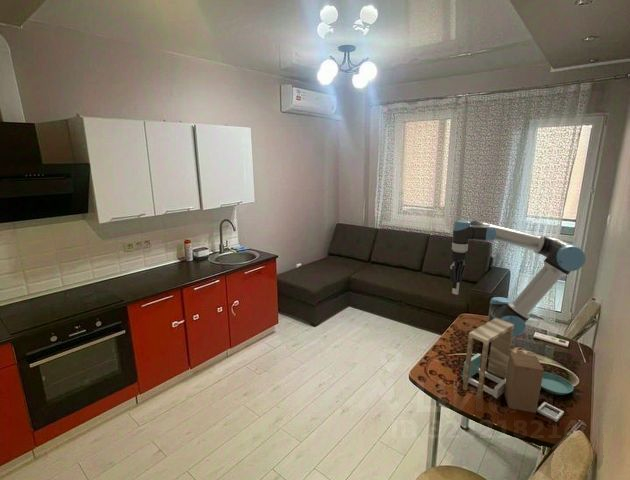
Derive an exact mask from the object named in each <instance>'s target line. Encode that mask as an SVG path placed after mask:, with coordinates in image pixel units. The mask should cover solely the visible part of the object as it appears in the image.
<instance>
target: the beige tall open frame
mask: <svg viewBox="0 0 630 480" xmlns="http://www.w3.org/2000/svg"><path fill="white" fill-rule="evenodd" d="M513 329H514V324H512V323H509V322H507V321H504V320H501V319H498V318H495V319H493V320H491V321H489V322H488V321H487V322H485V323H484V324H482V325H479V327H477V328H475V329H473V330H471V331H470V332H468V338H467V339H468V340H467V349H466V355H465V361H466V363H465V372H464V380H462V381H463V382H462V383H463V384H462V390H464V391H467V390H468V389H469V373H470V365H471V357H473V356H472V354H473V348H474V347H473V346H474V339H475V340H477V341H479V342H482V344H483V345H482V353H481V360H480V374H479V376H478V382H479V383H478V387H477V391H476V392H477V393H476V398H478V399H480V400H481V399H483V392H484V391H483V386H484V385H485V378H486V377H485V371H486V370H487V372H488V371H489V372H488V373H490V372H491V373H490V374H492V375H494V376H496V377H498V378H501V377H502V378H501V379H503V378H504V379H505V378H506V375H507V368H508V361H509V354H510V353H511V350H512V349H511V348H512V342H513V341H512V336H513ZM513 337H514V336H513ZM489 346H490V350H489ZM489 351H490V352H489ZM488 352H489V353H488ZM488 355H489V357H488ZM487 361H488V365H487ZM504 379H503V380H504Z"/></svg>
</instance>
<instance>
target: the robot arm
mask: <svg viewBox="0 0 630 480" xmlns="http://www.w3.org/2000/svg"><path fill="white" fill-rule="evenodd" d="M452 231H453V233H452V242H451V251H450V252H451V253H450V258H451V259H452V260H451V261H452V262H451V264H450V265H448V268H449V278H450V279H449V280H450V282H451V283H452V291H451V293H452V294H454V295H457V296H458V295H459V290H460V283H462V281H463V279H464V274H465V270H466V267H467V264H468V262H467V261H466V260H467V259H468V249H469V241H483V242H484V241H485V242H492V241H493V242H494V241H497V242H501V243H505V244H508V245H512V246H516V247H518V248H519V247H520V248H523V249H527V250H530V251H533V253H535V254H538V255H541V256H543V257H545V259H544V260H543V267H542V268H541V269H540V270H539V271H538V272H537V273H536V275H535V276H534V277H533V278H532V279H531V280H530V281H529V283H528V284H527V285H526V286H525V288H523V290H522V291H521V292H520V293H519V295H518V296H517V297H516V298H515V299H514V300H512V299H511V298H507V297H503V296H502V297H500V296H497V297H496V296H495V297H492V298H491V299H490V301H489V309H488V319H487V322H489V321H491V320H493V319H495V318H498V319H501V320H504V321H507V322H509V323H512V324H514V329H513V336H512V342H513V341H514V337H516V336H520V335H522V334H523V333H524V332H525V330H526V325H527V324H526V322H528V321H529V319H530V313H531V312H532V311H533V309H534V308H536V307H537V305H538V304H539V303H540V301H541V300H542V299H544V297H545V296H546V295H547V293H549V291H551V289H552V288H553V287H554V286H555V284H557V282H558V281H559V280H560V279H561V278H562V277H567V276H569V274H571V272H575V271H578V270H580V269H581V268H582V267H583V266H584V264H585V263H586V254H585V252H584V251H583V250H582V248H580V247H579V246H577V245H576V244H574V243H571V242H568V241H567V240H565V239H561V238H557V237H551V236H546V235H542V234H541V235H534V234H531V233H526V232H523V231H519V230H514V229H512V228H506V227H503V226H498V225H495V224H491V223H487V222H484V221H481V220H478V219H473V220H470V221H468V220H464V219H463V220H461V219H460V220H456V221H455V222H454V224H453V230H452Z"/></svg>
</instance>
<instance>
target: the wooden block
mask: <svg viewBox="0 0 630 480" xmlns="http://www.w3.org/2000/svg"><path fill="white" fill-rule="evenodd" d="M543 372H545V371H544V368H543V366H542V365H541V362H540V360H539V358H538V356H536V355H531V354H524V353H517V352H510V354H509V361H508V368H507V375H506V381H505V388H504V393H503V395H504V397H505V400H506V404H507V406H508V409H513V410H518V411H523V412H527V413H528V412H529V413H533V414H536V413H537V409H538V404H539V398H540V392H541V390H540V388H541V383H542V377H543ZM541 389H542V388H541Z"/></svg>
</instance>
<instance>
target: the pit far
mask: <svg viewBox="0 0 630 480" xmlns="http://www.w3.org/2000/svg"><path fill="white" fill-rule="evenodd" d="M536 413H538V414H541V416H544V417H546V418H547V419H550V420H551V421H554V422H556V423H557V422H558V421H559V420H560V419H561V418H562V417H563V415H564V413H565V411H564V410H562V409H560V408H557V407H556V406H553V405H552V404H549V403H548V402H545V401H544V402H543V403H541V405H540V406H538V407H537V411H536Z"/></svg>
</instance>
